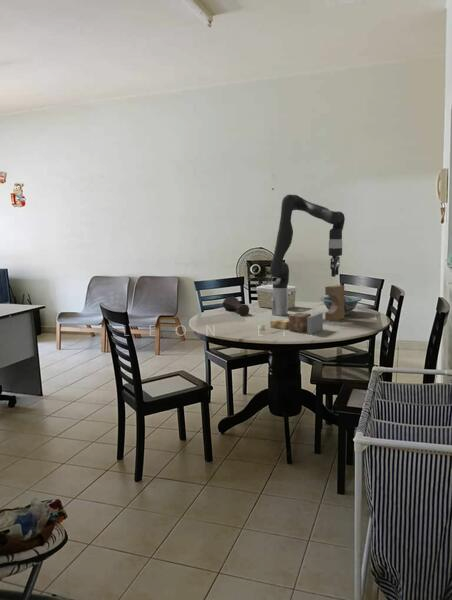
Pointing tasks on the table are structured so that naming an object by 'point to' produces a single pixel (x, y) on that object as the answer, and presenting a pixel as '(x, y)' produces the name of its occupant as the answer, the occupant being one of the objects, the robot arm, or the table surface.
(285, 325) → the tan wooden block
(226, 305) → the dark brown bone
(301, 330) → the socket block
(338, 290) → the decorative block
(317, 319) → the wall
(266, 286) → the storage basket
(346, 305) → the bowl
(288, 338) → the table surface
